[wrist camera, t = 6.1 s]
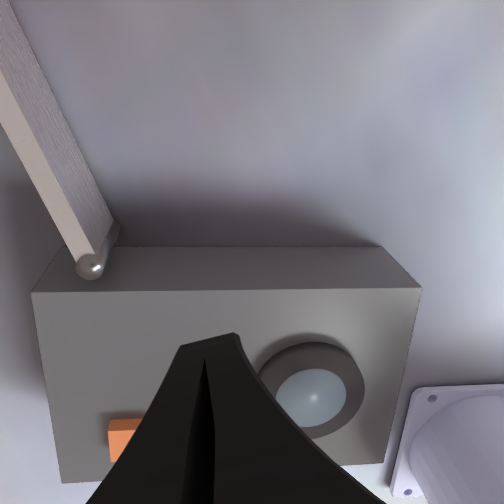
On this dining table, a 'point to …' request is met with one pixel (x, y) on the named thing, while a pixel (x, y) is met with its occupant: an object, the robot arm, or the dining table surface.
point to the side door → (51, 152)
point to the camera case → (219, 323)
